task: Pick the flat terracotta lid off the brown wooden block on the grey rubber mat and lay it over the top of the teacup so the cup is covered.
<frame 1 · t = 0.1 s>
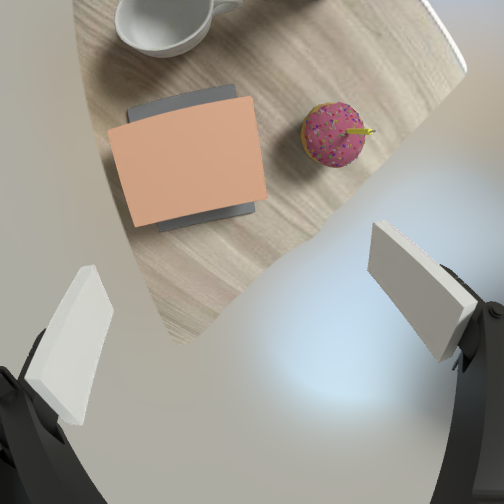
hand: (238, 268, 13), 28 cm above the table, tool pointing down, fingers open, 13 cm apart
cupcake: (321, 130, 37), on the table
lid: (189, 158, 32), point 5 cm above the table, touching brown wooden block
mat: (192, 159, 36), on the table
teacup: (183, 24, 27), on the table
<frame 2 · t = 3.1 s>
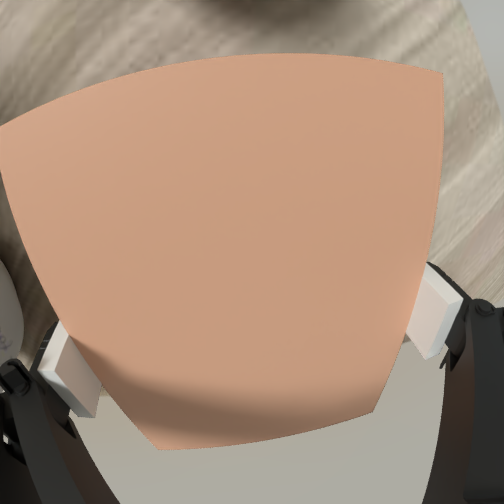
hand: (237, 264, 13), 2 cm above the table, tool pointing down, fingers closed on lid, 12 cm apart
lid: (244, 297, 11), point 5 cm above the table, touching gripper, brown wooden block
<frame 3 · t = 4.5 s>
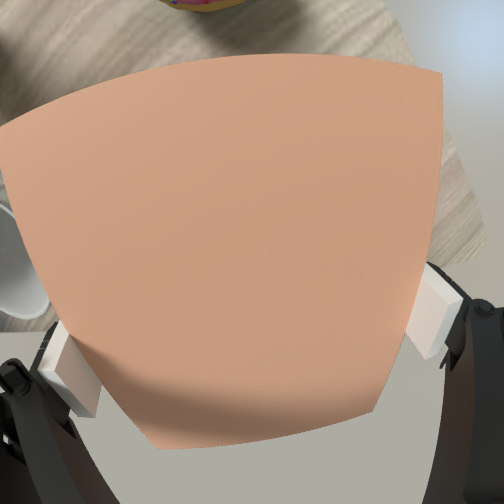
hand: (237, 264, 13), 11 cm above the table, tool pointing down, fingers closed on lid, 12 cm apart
lid: (244, 296, 11), point 14 cm above the table, touching gripper
teacup: (39, 206, 21), on the table
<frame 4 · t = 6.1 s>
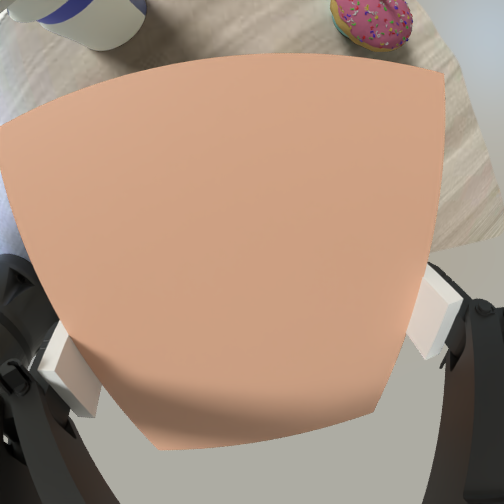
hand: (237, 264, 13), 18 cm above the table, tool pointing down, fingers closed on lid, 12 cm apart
cupcake: (352, 21, 21), on the table
lid: (245, 297, 11), point 20 cm above the table, touching gripper
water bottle: (108, 18, 19), on the table
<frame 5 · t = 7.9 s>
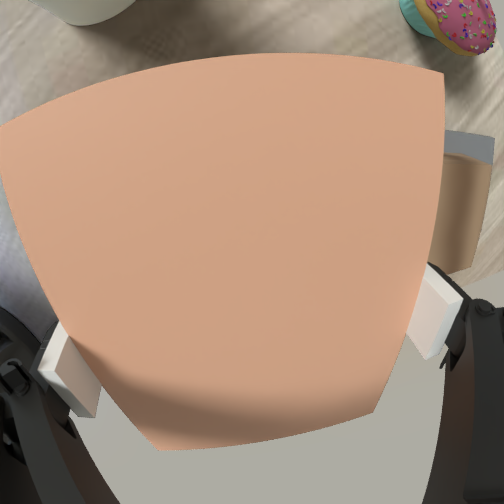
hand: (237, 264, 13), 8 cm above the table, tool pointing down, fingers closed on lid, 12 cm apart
cupcake: (420, 12, 14), on the table
lid: (244, 298, 11), point 11 cm above the table, touching gripper
mat: (432, 202, 23), on the table
brown wooden block: (424, 203, 23), resting on mat
when the fingers open (7 cm above the table, at t = 9.2 s): lid drops 2 cm, resting on teacup.
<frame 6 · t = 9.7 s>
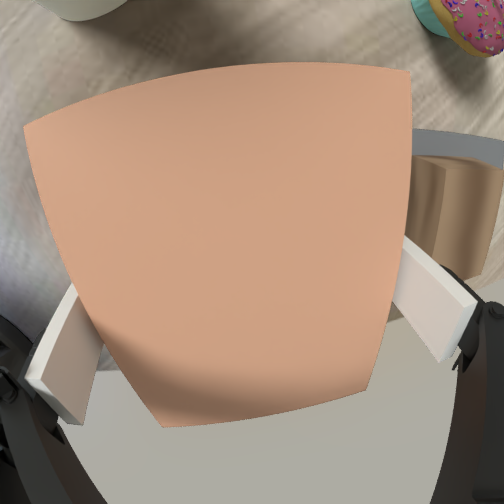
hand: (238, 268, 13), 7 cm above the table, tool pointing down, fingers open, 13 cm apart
cupcake: (431, 11, 13), on the table
lid: (242, 275, 12), point 8 cm above the table, touching teacup
mat: (442, 207, 22), on the table
brown wooden block: (435, 208, 22), resting on mat
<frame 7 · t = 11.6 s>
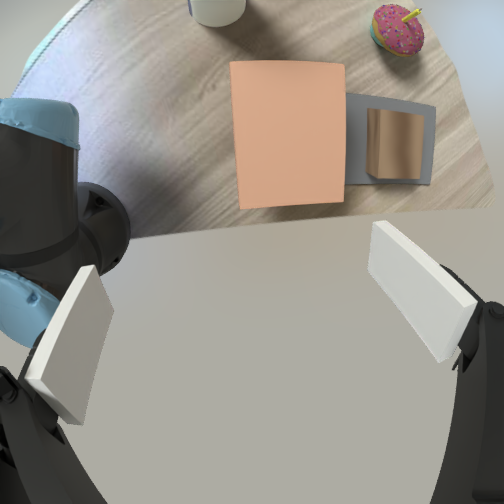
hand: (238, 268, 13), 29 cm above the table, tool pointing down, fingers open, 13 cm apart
cupcake: (383, 34, 31), on the table
lid: (287, 131, 30), point 8 cm above the table, touching teacup
mat: (391, 141, 39), on the table
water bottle: (215, 4, 28), on the table
brown wooden block: (386, 140, 39), resting on mat
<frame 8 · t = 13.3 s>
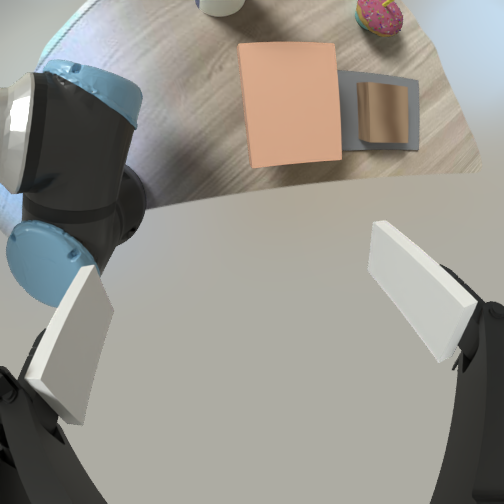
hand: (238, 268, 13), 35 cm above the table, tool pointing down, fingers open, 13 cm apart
cupcake: (366, 18, 34), on the table
lid: (289, 101, 34), point 8 cm above the table, touching teacup
mat: (380, 111, 43), on the table
brown wooden block: (375, 111, 43), resting on mat
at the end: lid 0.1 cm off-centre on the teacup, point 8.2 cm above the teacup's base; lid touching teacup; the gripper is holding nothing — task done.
